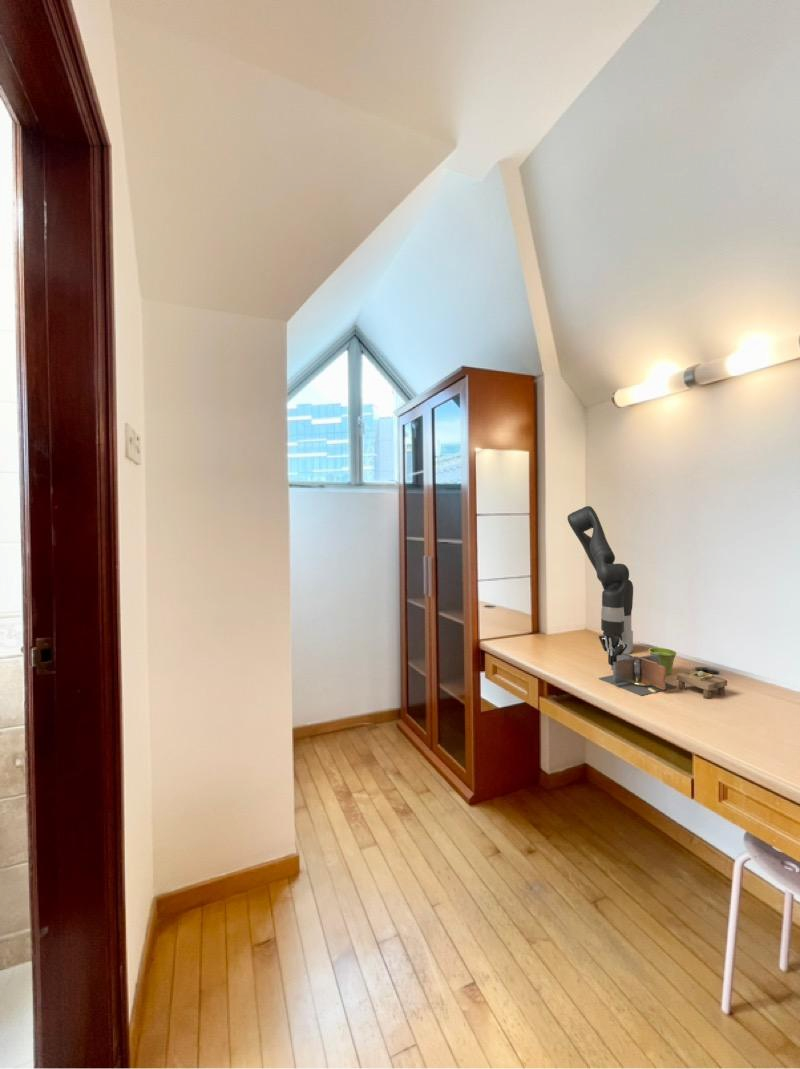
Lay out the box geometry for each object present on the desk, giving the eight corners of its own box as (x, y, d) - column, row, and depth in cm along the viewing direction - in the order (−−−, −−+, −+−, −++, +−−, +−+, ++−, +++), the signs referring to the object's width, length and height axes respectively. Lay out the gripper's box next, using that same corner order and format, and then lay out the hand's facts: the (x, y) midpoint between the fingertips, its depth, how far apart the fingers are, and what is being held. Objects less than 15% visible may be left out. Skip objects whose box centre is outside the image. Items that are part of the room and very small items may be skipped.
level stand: (694, 683, 160) (694, 664, 160) (727, 694, 150) (727, 673, 150) (676, 688, 156) (676, 668, 156) (708, 699, 146) (708, 678, 146)
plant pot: (681, 677, 167) (681, 654, 166) (656, 677, 167) (656, 654, 167) (668, 669, 176) (668, 647, 176) (644, 668, 177) (644, 647, 176)
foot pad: (632, 671, 174) (632, 669, 173) (678, 687, 156) (678, 685, 156) (598, 678, 166) (598, 676, 166) (642, 696, 149) (642, 694, 149)
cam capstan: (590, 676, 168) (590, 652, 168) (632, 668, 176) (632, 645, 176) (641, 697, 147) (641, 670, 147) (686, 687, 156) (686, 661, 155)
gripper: (592, 614, 165) (592, 659, 166) (615, 623, 152) (615, 672, 153) (609, 613, 167) (609, 658, 168) (634, 621, 154) (634, 670, 155)
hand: (612, 664), depth 160 cm, fingers closed
